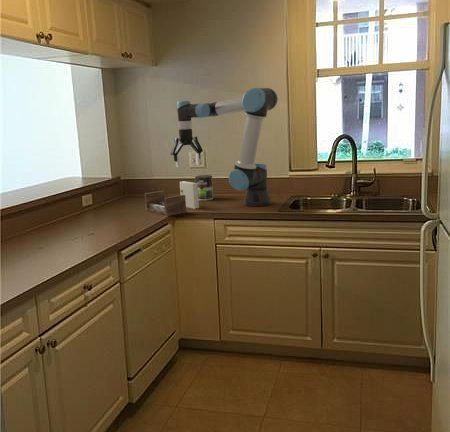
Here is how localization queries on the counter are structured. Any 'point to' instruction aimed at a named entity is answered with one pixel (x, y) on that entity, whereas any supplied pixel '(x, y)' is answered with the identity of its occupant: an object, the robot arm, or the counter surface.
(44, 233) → the counter surface
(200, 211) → the counter surface
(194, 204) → the door panel
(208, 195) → the coffee can
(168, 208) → the door track
